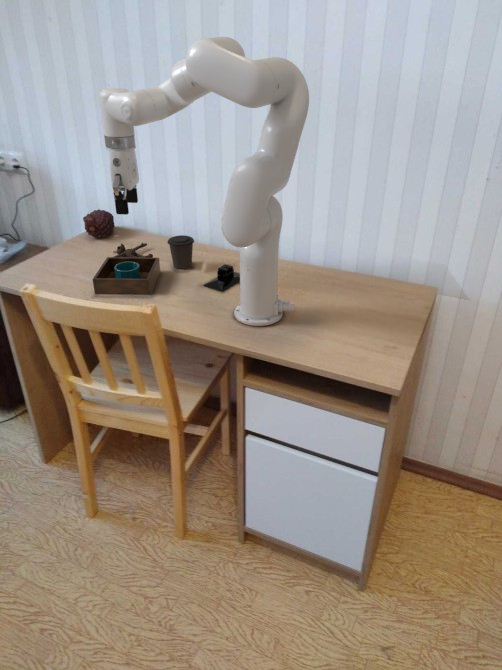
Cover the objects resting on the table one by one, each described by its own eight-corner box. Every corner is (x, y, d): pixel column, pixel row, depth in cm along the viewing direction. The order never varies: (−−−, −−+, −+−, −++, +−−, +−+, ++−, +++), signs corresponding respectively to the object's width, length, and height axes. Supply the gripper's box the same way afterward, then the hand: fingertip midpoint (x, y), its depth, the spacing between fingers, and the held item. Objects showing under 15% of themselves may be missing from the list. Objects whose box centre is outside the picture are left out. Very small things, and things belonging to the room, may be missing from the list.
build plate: (222, 292, 151) (221, 277, 149) (202, 286, 155) (201, 271, 152) (247, 276, 160) (247, 262, 157) (228, 271, 163) (227, 257, 161)
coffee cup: (196, 272, 162) (195, 241, 157) (170, 274, 161) (167, 243, 156) (195, 262, 169) (193, 232, 164) (169, 264, 168) (166, 233, 163)
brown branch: (128, 264, 160) (94, 249, 166) (128, 277, 162) (95, 262, 169) (168, 246, 173) (136, 232, 179) (168, 258, 175) (136, 244, 181)
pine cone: (94, 225, 198) (106, 202, 195) (116, 241, 198) (129, 218, 195) (70, 229, 181) (82, 204, 178) (93, 245, 181) (107, 221, 178)
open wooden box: (160, 273, 162) (159, 257, 159) (150, 297, 148) (148, 279, 146) (109, 273, 162) (107, 256, 159) (95, 296, 149) (92, 279, 146)
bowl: (143, 277, 158) (141, 261, 155) (138, 287, 152) (136, 271, 149) (120, 277, 158) (117, 261, 155) (114, 287, 152) (111, 271, 149)
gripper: (125, 150, 127) (133, 219, 136) (142, 135, 142) (148, 198, 151) (95, 149, 128) (104, 218, 137) (115, 134, 142) (122, 197, 151)
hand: (127, 208), depth 144 cm, fingers open, 9 cm apart
